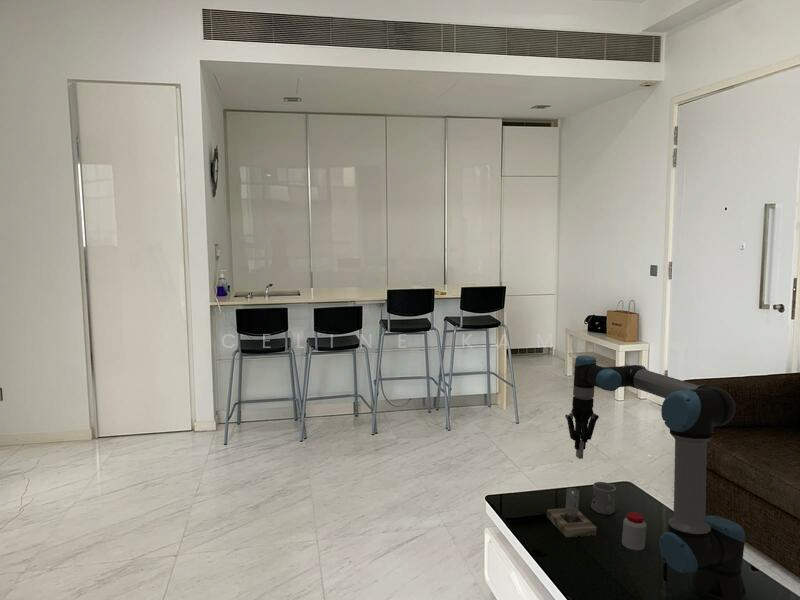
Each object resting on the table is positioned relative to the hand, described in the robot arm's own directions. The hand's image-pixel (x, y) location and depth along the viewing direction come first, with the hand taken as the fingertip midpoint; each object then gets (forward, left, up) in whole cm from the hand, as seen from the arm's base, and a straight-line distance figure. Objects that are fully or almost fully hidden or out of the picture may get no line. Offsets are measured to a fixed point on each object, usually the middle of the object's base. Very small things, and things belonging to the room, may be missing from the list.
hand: (579, 457), depth 226 cm
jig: (-3, +3, -25) cm, 26 cm away
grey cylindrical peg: (-3, +3, -26) cm, 26 cm away
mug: (+6, -16, -26) cm, 31 cm away
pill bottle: (-19, -13, -26) cm, 34 cm away
